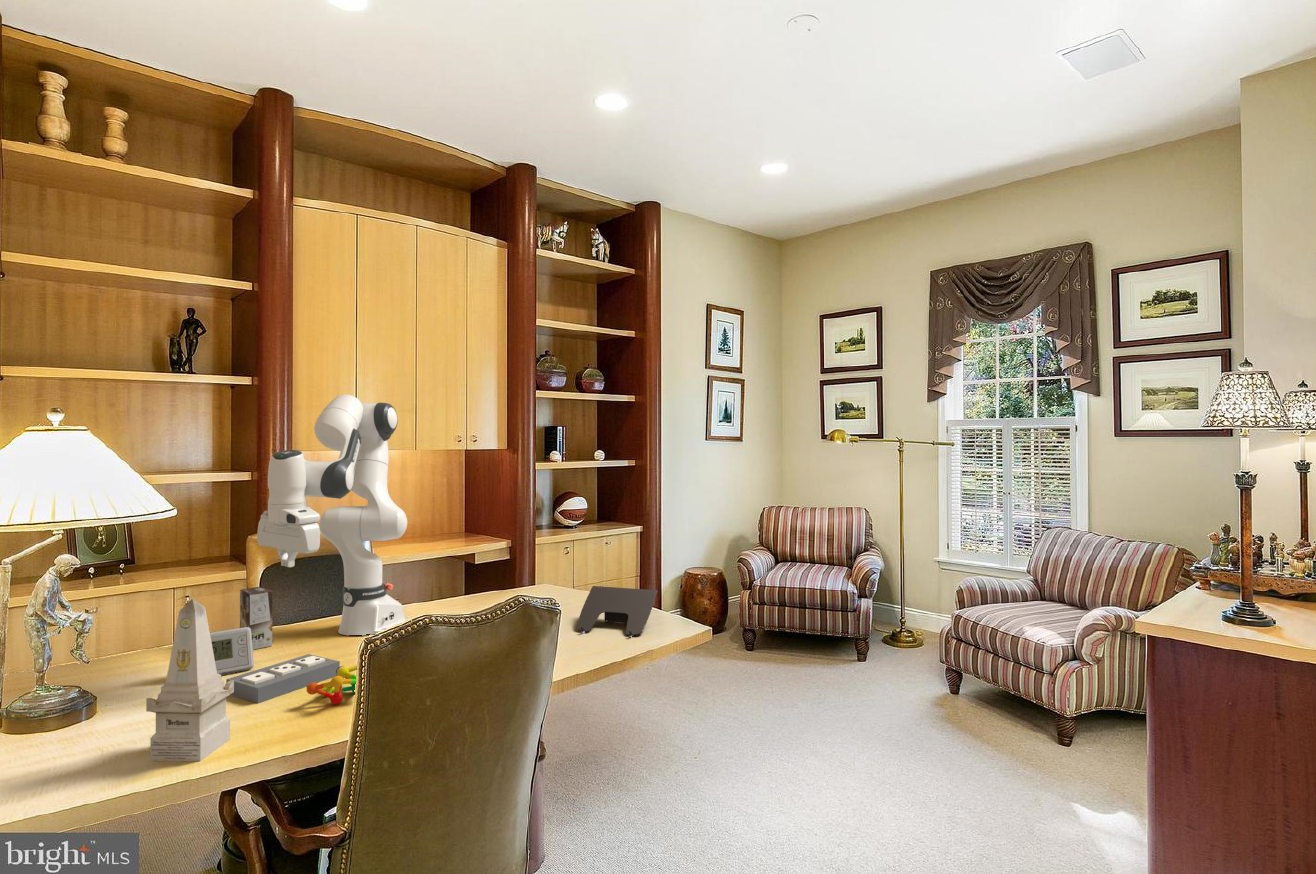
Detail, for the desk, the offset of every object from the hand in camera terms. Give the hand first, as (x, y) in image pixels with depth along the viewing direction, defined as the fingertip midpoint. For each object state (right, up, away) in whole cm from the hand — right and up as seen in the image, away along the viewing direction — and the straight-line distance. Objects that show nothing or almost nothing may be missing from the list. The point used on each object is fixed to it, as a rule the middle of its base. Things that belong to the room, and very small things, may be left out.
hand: (287, 566), depth 186 cm
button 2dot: (+7, -27, -2) cm, 28 cm away
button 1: (0, -27, -15) cm, 30 cm away
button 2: (+4, -27, -8) cm, 28 cm away
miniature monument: (+4, -28, -45) cm, 53 cm away
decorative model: (+22, -28, -17) cm, 39 cm away
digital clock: (-17, -28, -2) cm, 33 cm away
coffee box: (-21, -27, +22) cm, 41 cm away
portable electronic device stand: (+82, -29, +46) cm, 99 cm away
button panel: (+4, -28, -8) cm, 29 cm away
